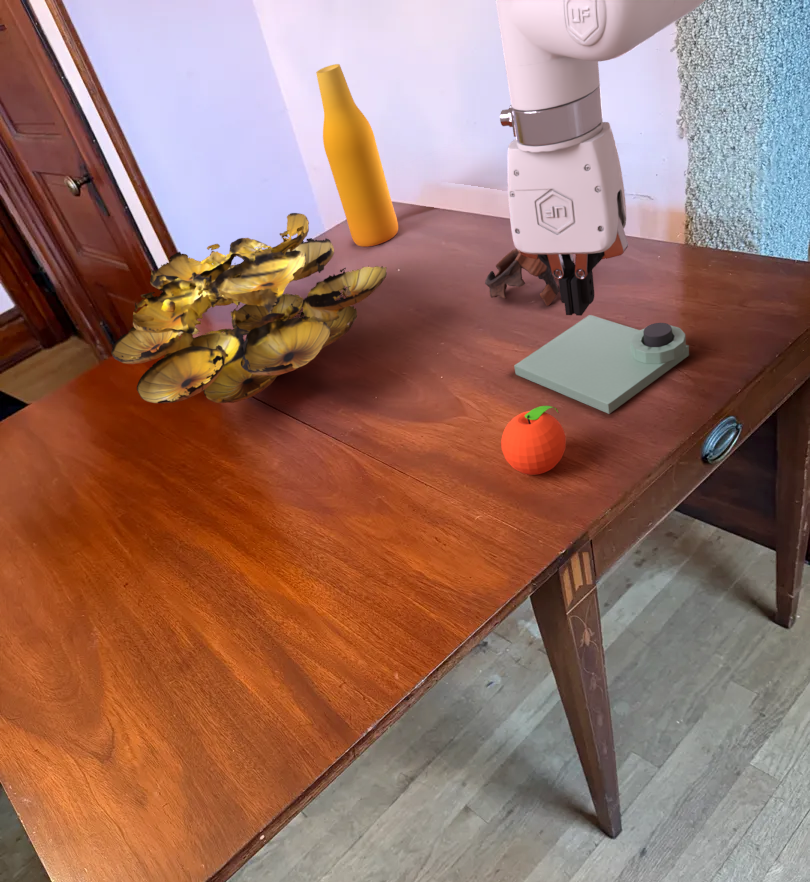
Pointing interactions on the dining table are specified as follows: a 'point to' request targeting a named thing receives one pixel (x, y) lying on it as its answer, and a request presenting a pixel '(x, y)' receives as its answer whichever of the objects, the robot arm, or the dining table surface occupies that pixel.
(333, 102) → the beer bottle
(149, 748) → the dining table surface
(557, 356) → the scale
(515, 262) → the broken mug
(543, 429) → the clementine
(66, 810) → the dining table surface
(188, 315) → the mushroom
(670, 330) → the tare button
